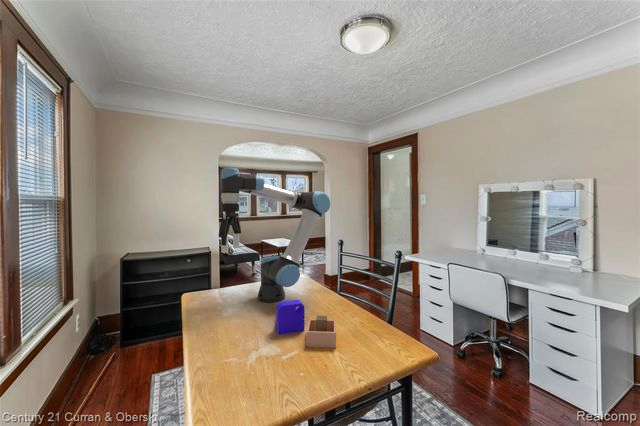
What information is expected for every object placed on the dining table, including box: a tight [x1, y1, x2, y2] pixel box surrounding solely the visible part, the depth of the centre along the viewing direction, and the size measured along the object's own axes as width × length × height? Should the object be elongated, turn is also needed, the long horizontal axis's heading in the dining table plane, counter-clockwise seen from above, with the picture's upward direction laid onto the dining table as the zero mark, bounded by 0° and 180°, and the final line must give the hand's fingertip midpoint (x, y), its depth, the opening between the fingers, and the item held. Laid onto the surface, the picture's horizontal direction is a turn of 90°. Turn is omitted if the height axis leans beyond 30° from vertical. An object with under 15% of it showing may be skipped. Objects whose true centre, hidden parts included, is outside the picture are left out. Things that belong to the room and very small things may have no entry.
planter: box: [305, 318, 337, 349], centre depth 105 cm, size 11×11×6 cm
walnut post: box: [316, 314, 328, 332], centre depth 105 cm, size 4×4×8 cm
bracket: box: [275, 299, 306, 336], centre depth 119 cm, size 18×11×12 cm, turn 20°
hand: (230, 250), depth 122 cm, fingers open, 13 cm apart
